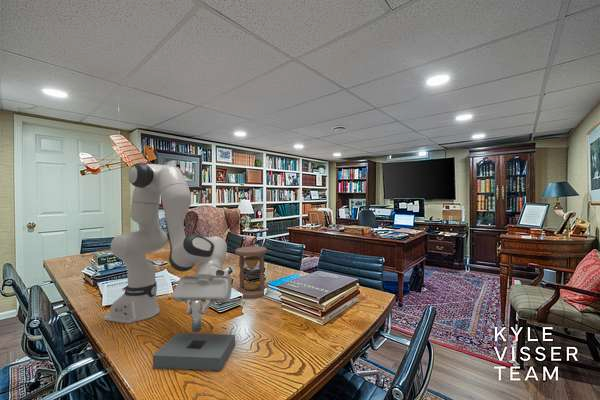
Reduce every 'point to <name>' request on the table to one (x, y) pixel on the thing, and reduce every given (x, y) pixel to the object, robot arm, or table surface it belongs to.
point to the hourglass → (252, 287)
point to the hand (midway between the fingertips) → (195, 313)
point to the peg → (196, 315)
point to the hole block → (195, 351)
